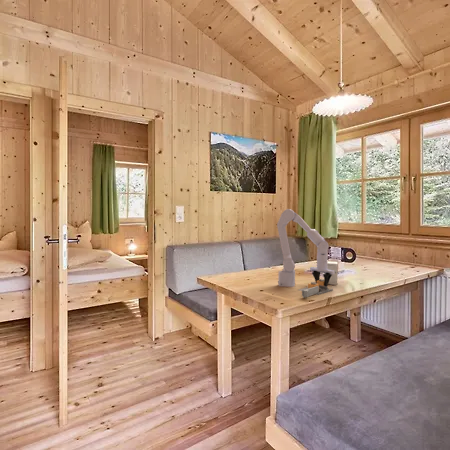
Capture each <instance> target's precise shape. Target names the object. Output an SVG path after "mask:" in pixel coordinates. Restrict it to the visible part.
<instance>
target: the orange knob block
mask: <svg viewBox="0 0 450 450" xmlns="http://www.w3.org/2000/svg"><path fill="white" fill-rule="evenodd" d="M317 284H319V285H322V286H324V278H319V280H318V281H317Z"/></svg>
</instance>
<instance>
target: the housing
mask: <svg viewBox="0 0 450 450" xmlns="http://www.w3.org/2000/svg"><path fill="white" fill-rule="evenodd" d="M305 289H308V286H307V287H303V288H299V289H298V291H300V292H302V290H305ZM333 291H334V289H333V288H331V289H329V288H328V286H322V285H319V293H317V294H315V295H316V296H320V295H324V294H326V293H330V292H333Z"/></svg>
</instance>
